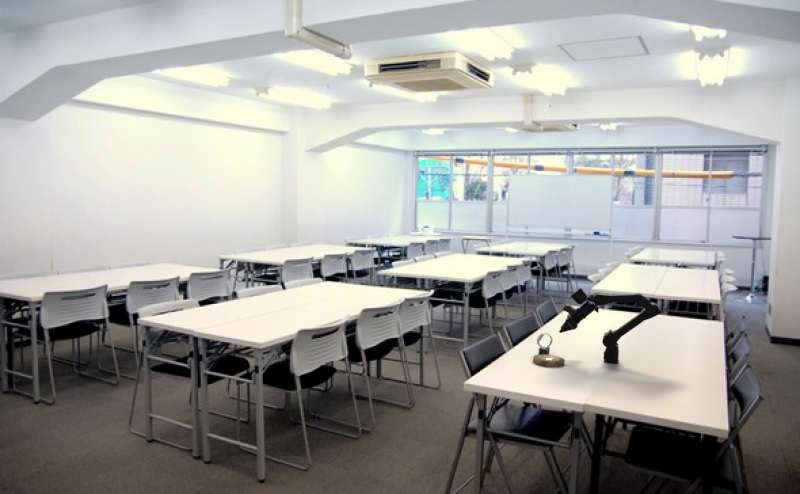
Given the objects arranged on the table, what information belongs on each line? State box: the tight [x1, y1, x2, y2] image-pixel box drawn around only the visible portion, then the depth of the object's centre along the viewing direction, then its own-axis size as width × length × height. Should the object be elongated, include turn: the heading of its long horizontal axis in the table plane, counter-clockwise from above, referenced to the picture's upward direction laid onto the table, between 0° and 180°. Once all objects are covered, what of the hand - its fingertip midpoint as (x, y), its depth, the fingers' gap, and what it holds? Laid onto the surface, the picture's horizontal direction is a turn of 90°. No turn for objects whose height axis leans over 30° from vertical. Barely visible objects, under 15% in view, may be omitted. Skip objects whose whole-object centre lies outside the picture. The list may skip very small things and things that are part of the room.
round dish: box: [532, 354, 566, 368], centre depth 282 cm, size 15×15×2 cm
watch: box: [536, 332, 553, 355], centre depth 297 cm, size 6×8×11 cm
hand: (560, 330), depth 294 cm, fingers open, 9 cm apart
